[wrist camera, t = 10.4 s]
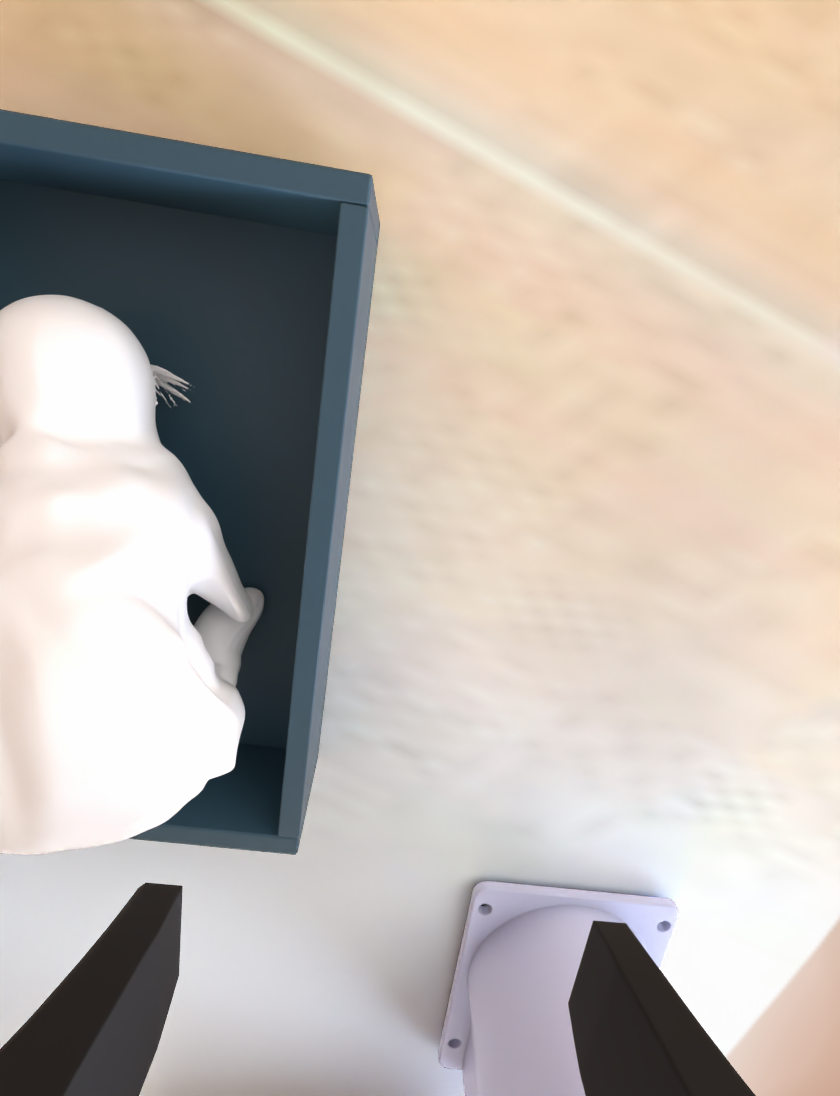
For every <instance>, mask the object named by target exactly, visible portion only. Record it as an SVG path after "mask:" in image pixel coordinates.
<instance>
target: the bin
mask: <svg viewBox="0 0 840 1096" xmlns="http://www.w3.org/2000/svg"><path fill="white" fill-rule="evenodd" d="M379 228H380V221H379V216H378V210H377V204H376V197H375V191H374V185H373V179H372V176H371V175H370V174H366V173H360V172H354V171H349V170H343V169H337V168H332V167H326V166H320V165H315V164H309V163H303V162H297V161H292V160H286V159H280V158H275V157H269V156H263V155H258V154H252V153H246V152H240V151H235V150H229V149H223V148H218V147H212V146H206V145H201V144H195V143H189V142H184V141H178V140H172V139H166V138H161V137H155V136H149V135H144V134H138V133H132V132H127V131H121V130H115V129H110V128H104V127H98V126H92V125H87V124H81V123H75V122H70V121H64V120H58V119H53V118H47V117H41V116H36V115H30V114H24V113H18V112H13V111H7V110H1V109H0V310H2V309H3V308H4V307H6V306H8V305H9V304H11V303H13V302H15V301H18V300H20V299H23V298H27V297H32V296H38V295H64V296H70V297H74V298H78V299H81V300H84V301H86V302H89V303H91V304H93V305H96V306H98V307H101V308H103V309H105V310H106V311H108V312H109V313H111V314H113V315H114V316H115V317H117V318H118V319H119V320H121V321H122V322H123V323H124V324H125V325H126V326H127V327H128V328H129V329H130V330H131V331H132V332H133V334H134V335H135V336H136V338H137V339H138V341H139V342H140V344H141V345H142V347H143V349H144V350H145V352H146V355H147V357H148V359H149V362H150V365H155V366H159V367H161V368H163V369H166V370H167V371H169V372H171V373H172V374H173V375H175V376H177V377H179V378H181V379H183V380H184V381H186V382H188V383H189V384H186V383H183V382H180V381H178V382H179V383H181V384H182V385H184V386H186V387H187V388H189V389H186V388H183V387H181V386H179V385H176V384H175V385H176V386H175V385H174V384H172V383H170V382H167V384H168V385H170V386H171V387H173V388H174V389H176V390H177V391H178V392H180V393H181V394H182V395H183V396H184V397H186V398H187V399H188V400H189V401H190V402H191V403H189V402H188V401H186V400H185V401H184V400H183V399H181V398H180V397H177V396H176V395H174V394H172V393H171V392H169V391H168V390H166V389H164V388H163V387H161V386H159V385H158V386H159V389H158V387H157V386H156V385H155V387H156V389H157V391H158V392H159V393H160V392H161V393H162V394H163V395H164V398H165V399H166V400H165V399H164V398H163V396H162V395H161V396H160V395H159V394H158V393H157V392H156V397H157V400H156V401H157V402H158V404H157V405H156V408H155V421H156V428H157V432H158V436H159V439H160V442H161V444H162V445H163V446H164V447H165V448H166V449H167V450H169V451H170V452H171V453H172V454H174V455H175V456H176V457H177V458H178V460H179V461H180V462H181V463H182V465H183V466H184V468H185V469H186V471H187V473H188V475H189V477H190V478H191V480H192V482H193V484H194V486H195V487H196V489H197V491H198V492H199V494H200V495H201V497H202V498H203V499H204V501H205V502H206V503H207V504H208V505H209V507H210V508H211V510H212V511H213V513H214V514H215V516H216V518H217V520H218V522H219V525H220V528H221V532H222V536H223V540H224V543H225V546H226V548H227V550H228V552H229V554H230V556H231V559H232V561H233V563H234V566H235V568H236V570H237V573H238V576H239V578H240V581H241V583H242V585H243V587H244V588H246V587H252V588H256V589H258V590H260V591H261V592H262V594H263V596H264V608H263V611H262V615H261V616H260V618H259V620H258V622H257V623H256V625H255V626H254V628H253V629H252V631H251V633H250V635H249V637H248V639H247V641H246V644H245V647H244V650H243V652H242V655H241V668H240V671H239V673H238V679H237V684H236V686H235V687H236V688H237V690H238V691H239V693H240V696H241V698H242V701H243V704H244V708H245V720H244V724H243V728H242V731H241V735H240V739H239V744H238V748H237V754H236V763H235V767H234V769H233V770H232V771H230V772H228V773H226V774H224V775H221V776H218V777H215V778H212V779H209V780H208V781H207V783H206V784H205V786H204V788H203V790H202V791H201V792H200V793H199V794H198V795H197V796H195V797H194V798H193V799H191V800H190V801H189V802H187V803H186V804H185V805H184V806H183V807H182V808H181V809H180V810H179V811H178V812H177V813H176V814H175V815H174V816H172V817H171V818H170V819H169V820H167V821H166V822H164V823H162V824H161V825H159V826H156V827H154V828H152V829H149V830H147V831H145V832H142V833H140V834H138V835H136V836H133V837H131V838H128V839H138V840H149V841H159V842H169V843H180V844H190V845H200V846H210V847H221V848H231V849H241V850H251V851H262V852H272V853H282V854H292V855H295V854H296V853H297V852H298V847H299V842H300V838H301V833H302V828H303V824H304V819H305V814H306V810H307V805H308V800H309V796H310V791H311V786H312V782H313V777H314V772H315V768H316V763H317V758H318V751H319V742H320V734H321V725H322V716H323V708H324V699H325V691H326V682H327V674H328V665H329V656H330V648H331V639H332V631H333V622H334V614H335V605H336V597H337V588H338V579H339V571H340V562H341V554H342V545H343V537H344V528H345V519H346V511H347V502H348V494H349V485H350V477H351V468H352V460H353V451H354V442H355V434H356V425H357V417H358V408H359V400H360V391H361V383H362V374H363V365H364V357H365V348H366V340H367V331H368V323H369V314H370V305H371V297H372V288H373V280H374V271H375V263H376V254H377V246H378V237H379ZM174 380H175V379H174ZM176 381H177V380H176ZM190 385H192V386H190ZM183 389H184V390H185V391H184V390H183ZM161 393H160V394H161ZM169 395H170V396H169ZM170 397H171V398H172V399H171V400H170ZM172 400H173V401H174V402H175V404H176V405H177V406H176V405H175V404H174V402H173V401H172ZM166 402H167V403H166ZM170 406H171V408H170ZM210 604H211V603H210V602H208V601H207V600H205V599H204V598H202V597H201V596H199V595H197V594H191V595H189V596H188V597H187V613H188V617H189V620H190V622H191V623H192V625H193V626H194V624H195V623H196V621H197V620H198V618H199V616H200V615H201V614H202V612H203V611H204V610H205V609H206V608H207V607H208V606H209V605H210Z"/></svg>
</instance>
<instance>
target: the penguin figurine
mask: <svg viewBox="0 0 840 1096" xmlns="http://www.w3.org/2000/svg"><path fill="white" fill-rule="evenodd" d="M174 379H175V380H174ZM176 380H177V381H176ZM178 381H180V382H183V383H186V384H189V383H188V382H186V381H184V380H183V379H181V378H179V377H177V376H175V375H173V374H172V373H171V372H169V371H167V370H166V369H163V368H161V367H159V366H155V365H150V362H149V359H148V357H147V355H146V352H145V350H144V349H143V347H142V345H141V344H140V342H139V341H138V339H137V338H136V336H135V335H134V334H133V332H132V331H131V330H130V329H129V328H128V327H127V326H126V325H125V324H124V323H123V322H122V321H121V320H119V319H118V318H117V317H115V316H114V315H113V314H111V313H109V312H108V311H106V310H105V309H103V308H101V307H98V306H96V305H93V304H91V303H89V302H86V301H84V300H81V299H78V298H74V297H70V296H64V295H38V296H32V297H27V298H23V299H20V300H18V301H15V302H13V303H11V304H9V305H8V306H6V307H4V308H3V309H2V310H0V853H6V854H28V855H35V854H45V853H52V852H57V851H61V850H74V849H82V848H88V847H95V846H101V845H106V844H111V843H115V842H119V841H122V840H125V839H128V838H131V837H133V836H136V835H138V834H140V833H142V832H145V831H147V830H149V829H152V828H154V827H156V826H159V825H161V824H162V823H164V822H166V821H167V820H169V819H170V818H171V817H172V816H174V815H175V814H176V813H177V812H178V811H179V810H180V809H181V808H182V807H183V806H184V805H185V804H186V803H187V802H189V801H190V800H191V799H193V798H194V797H195V796H197V795H198V794H199V793H200V792H201V791H202V790H203V788H204V786H205V784H206V783H207V781H208V780H209V779H212V778H215V777H218V776H221V775H224V774H226V773H228V772H230V771H232V770H233V769H234V767H235V763H236V754H237V748H238V744H239V739H240V735H241V731H242V728H243V724H244V720H245V708H244V704H243V701H242V698H241V696H240V693H239V691H238V690H237V688H236V687H235V686H236V684H237V679H238V673H239V671H240V668H241V655H242V652H243V650H244V647H245V644H246V641H247V639H248V637H249V635H250V633H251V631H252V629H253V628H254V626H255V625H256V623H257V622H258V620H259V618H260V616H261V615H262V611H263V608H264V596H263V594H262V592H261V591H260V590H258V589H256V588H252V587H246V588H244V587H243V585H242V583H241V581H240V578H239V576H238V573H237V570H236V568H235V566H234V563H233V561H232V559H231V556H230V554H229V552H228V550H227V548H226V546H225V543H224V540H223V536H222V532H221V528H220V525H219V522H218V520H217V518H216V516H215V514H214V513H213V511H212V510H211V508H210V507H209V505H208V504H207V503H206V502H205V501H204V499H203V498H202V497H201V495H200V494H199V492H198V491H197V489H196V487H195V486H194V484H193V482H192V480H191V478H190V477H189V475H188V473H187V471H186V469H185V468H184V466H183V465H182V463H181V462H180V461H179V460H178V458H177V457H176V456H175V455H174V454H172V453H171V452H170V451H169V450H167V449H166V448H165V447H164V446H163V445H162V444H161V442H160V439H159V436H158V432H157V428H156V421H155V408H156V405H157V404H158V402H157V401H156V400H157V397H156V392H157V393H158V394H159V395H160V396H161V395H162V396H163V398H164V395H163V394H162V393H161V392H160V393H161V394H160V393H159V392H158V391H157V389H156V387H155V385H156V386H157V387H158V389H159V386H161V387H163V388H164V389H166V390H168V391H169V392H171V393H172V394H174V395H176V396H177V397H180V398H181V399H183V400H184V401H185V400H186V401H188V402H189V403H191V402H190V401H189V400H188V399H187V398H186V397H184V396H183V395H182V394H181V393H180V392H178V391H177V390H176V389H174V388H173V387H171V386H170V385H168V384H167V382H170V383H172V384H174V385H175V384H176V385H179V386H181V387H183V388H186V389H189V388H187V387H186V386H184V385H182V384H181V383H179V382H178ZM158 385H159V386H158ZM176 385H175V386H176ZM190 386H192V385H190ZM183 390H184V389H183ZM184 391H185V390H184ZM169 396H170V395H169ZM164 399H165V398H164ZM171 399H172V398H171V397H170V400H171ZM165 400H166V399H165ZM172 401H173V400H172ZM173 402H174V401H173ZM166 403H167V402H166ZM174 404H175V402H174ZM175 405H176V404H175ZM176 406H177V405H176ZM170 408H171V406H170ZM191 594H197V595H199V596H201V597H202V598H204V599H205V600H207V601H208V602H210V603H211V604H210V605H209V606H208V607H207V608H206V609H205V610H204V611H203V612H202V614H201V615H200V616H199V618H198V620H197V621H196V623H195V624H194V626H193V625H192V623H191V622H190V620H189V617H188V613H187V597H188V596H189V595H191Z"/></svg>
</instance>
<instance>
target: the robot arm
mask: <svg viewBox="0 0 840 1096" xmlns="http://www.w3.org/2000/svg"><path fill="white" fill-rule="evenodd" d="M482 904H488V905H486V906H481V905H482ZM181 909H182V886H177V885H165V884H154V883H145V884H143V885H142V886H140V887H139V888H138V889H137V891H136V892H135V893H134V895H133V896H132V897H131V899H130V900H129V901H128V903H127V904H126V905H125V906H124V908H123V909H122V910H121V912H120V913H119V914H118V915H117V917H116V918H115V919H114V921H113V922H112V923H111V924H110V926H109V927H108V928H107V929H106V930H105V932H104V933H103V934H102V935H101V937H100V938H99V939H98V940H97V941H96V943H95V944H94V945H93V946H92V947H91V949H90V950H89V951H88V952H87V953H86V955H85V956H84V957H83V958H82V959H81V961H80V962H79V963H78V964H77V965H76V966H75V968H74V969H73V970H72V971H71V972H70V973H69V974H68V976H67V977H66V978H65V979H64V980H63V981H62V982H61V984H60V985H59V986H58V987H57V988H56V989H55V990H54V991H53V993H52V994H51V995H50V996H49V997H48V998H47V999H46V1001H45V1002H44V1003H43V1004H42V1005H41V1006H40V1007H39V1009H38V1010H37V1011H36V1012H35V1013H34V1014H33V1015H32V1016H31V1017H30V1018H29V1019H28V1021H27V1022H26V1023H25V1024H24V1025H23V1026H22V1027H21V1028H20V1029H19V1030H18V1031H17V1032H16V1033H15V1034H14V1035H13V1036H12V1037H11V1039H10V1040H9V1041H8V1042H7V1043H6V1044H5V1045H4V1046H3V1047H2V1048H1V1049H0V1096H139V1094H140V1091H141V1089H142V1086H143V1083H144V1081H145V1078H146V1076H147V1073H148V1071H149V1068H150V1066H151V1063H152V1060H153V1058H154V1055H155V1053H156V1050H157V1047H158V1044H159V1040H160V1037H161V1034H162V1031H163V1027H164V1024H165V1021H166V1017H167V1014H168V1011H169V1007H170V1004H171V1000H172V997H173V993H174V990H175V987H176V983H177V980H178V976H179V958H180V933H181ZM678 918H679V910H678V908H677V906H676V904H675V902H674V901H673V900H671V899H668V898H659V897H649V896H639V895H628V894H618V893H607V892H597V891H587V890H576V889H566V888H556V887H545V886H535V885H525V884H514V883H504V882H493V881H483V882H480V883H478V884H477V885H476V886H475V887H474V889H473V893H472V897H471V902H470V906H469V911H468V916H467V920H466V925H465V930H464V934H463V939H462V943H461V948H460V953H459V957H458V962H457V966H456V971H455V976H454V980H453V985H452V990H451V994H450V999H449V1003H448V1008H447V1013H446V1017H445V1022H444V1026H443V1031H442V1036H441V1040H440V1045H439V1049H438V1056H439V1063H440V1064H441V1065H442V1066H443V1067H445V1068H449V1069H462V1070H463V1081H464V1093H465V1096H755V1094H754V1093H753V1092H752V1091H751V1089H750V1088H749V1087H748V1086H747V1084H746V1083H745V1082H744V1081H743V1079H742V1078H741V1077H740V1076H739V1074H738V1073H737V1072H736V1071H735V1069H734V1068H733V1067H732V1065H731V1064H730V1063H729V1061H728V1060H727V1059H726V1058H725V1056H724V1055H723V1054H722V1052H721V1051H720V1050H719V1048H718V1047H717V1046H716V1045H715V1043H714V1042H713V1041H712V1039H711V1038H710V1037H709V1035H708V1034H707V1033H706V1031H705V1030H704V1029H703V1028H702V1026H701V1025H700V1024H699V1022H698V1021H697V1020H696V1018H695V1017H694V1016H693V1014H692V1013H691V1012H690V1010H689V1009H688V1007H687V1006H686V1005H685V1003H684V1002H683V1001H682V999H681V998H680V997H679V995H678V994H677V992H676V991H675V990H674V988H673V987H672V986H671V984H670V983H669V982H668V980H667V979H666V977H665V976H664V975H663V973H662V972H661V967H662V965H663V962H664V959H665V956H666V953H667V950H668V947H669V944H670V941H671V938H672V935H673V932H674V930H675V927H676V924H677V921H678ZM661 921H663V922H661Z"/></svg>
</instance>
